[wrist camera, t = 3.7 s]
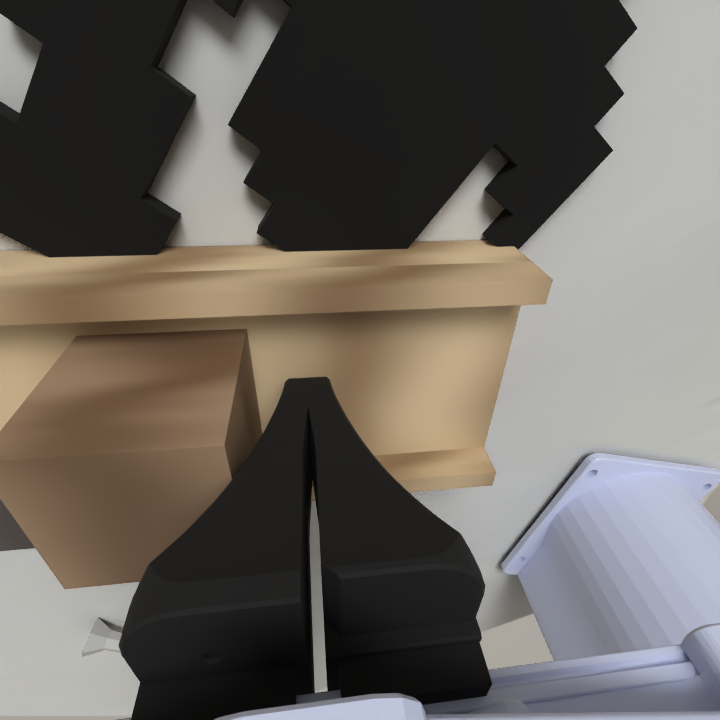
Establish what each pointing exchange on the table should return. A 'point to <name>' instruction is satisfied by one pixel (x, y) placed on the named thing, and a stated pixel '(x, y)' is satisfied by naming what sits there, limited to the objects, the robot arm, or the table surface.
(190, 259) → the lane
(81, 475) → the walnut block
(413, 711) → the robot arm
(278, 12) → the table surface
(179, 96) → the black pixelated cutout
